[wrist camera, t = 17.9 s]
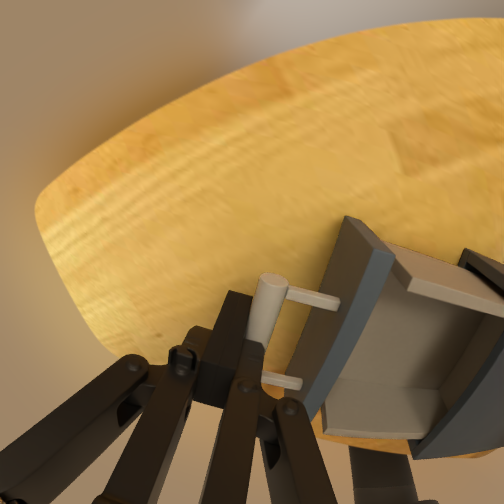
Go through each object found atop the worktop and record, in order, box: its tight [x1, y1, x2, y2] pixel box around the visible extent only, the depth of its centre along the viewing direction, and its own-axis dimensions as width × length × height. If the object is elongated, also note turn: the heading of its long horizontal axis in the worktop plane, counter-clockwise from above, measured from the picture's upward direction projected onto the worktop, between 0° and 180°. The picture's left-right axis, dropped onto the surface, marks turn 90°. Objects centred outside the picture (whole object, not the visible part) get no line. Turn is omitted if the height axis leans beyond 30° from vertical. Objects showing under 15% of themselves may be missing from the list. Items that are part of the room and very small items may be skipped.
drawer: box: [244, 216, 504, 439], centre depth 17 cm, size 20×14×7 cm
